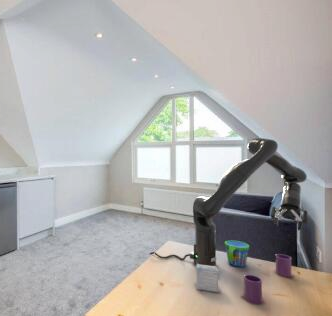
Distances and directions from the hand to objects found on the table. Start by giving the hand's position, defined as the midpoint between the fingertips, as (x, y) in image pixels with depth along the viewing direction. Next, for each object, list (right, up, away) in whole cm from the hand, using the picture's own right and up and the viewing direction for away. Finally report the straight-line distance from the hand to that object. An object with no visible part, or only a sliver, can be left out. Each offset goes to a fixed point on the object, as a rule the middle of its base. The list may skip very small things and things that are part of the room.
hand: (287, 227), depth 119 cm
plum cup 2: (-8, -19, -8) cm, 22 cm away
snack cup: (-23, -19, +3) cm, 30 cm away
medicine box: (-48, -20, -19) cm, 55 cm away
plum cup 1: (-34, -19, -27) cm, 48 cm away
